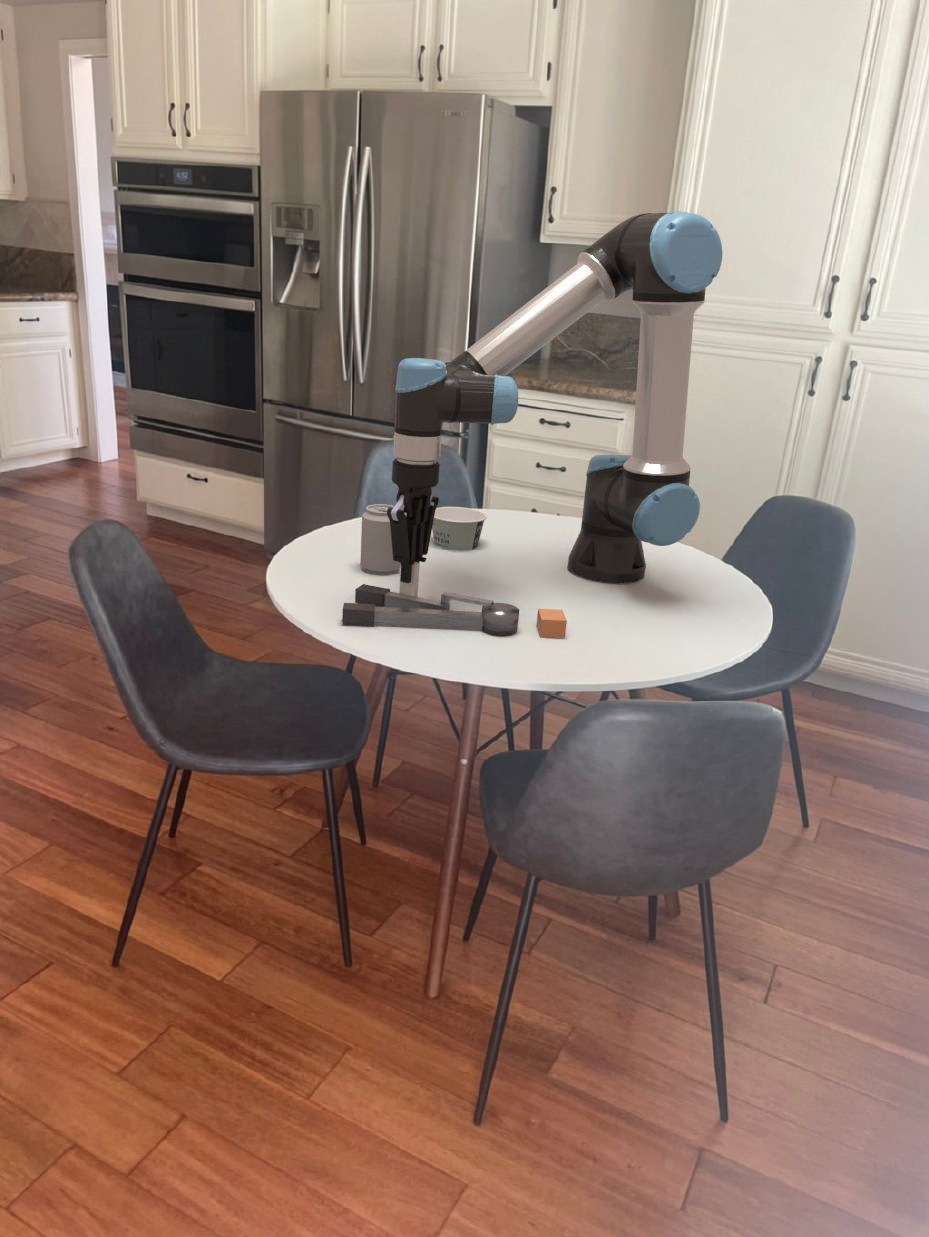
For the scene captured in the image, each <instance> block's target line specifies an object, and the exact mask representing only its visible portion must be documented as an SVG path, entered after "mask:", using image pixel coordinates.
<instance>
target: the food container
mask: <svg viewBox="0 0 929 1237" xmlns="http://www.w3.org/2000/svg"><path fill="white" fill-rule="evenodd" d="M487 518H488V516H487V514H486V513H485V512H483V511H480V510H479V509H475V508H469V507H461V506H441V507H437V508H436V510H435V515H434V521H433V526H432V538H433V544H434V545H435V546H436V547H438V548H441V549H444V550H449V551H471V550H476V549H477V548H478V546H479V543H480V540H481V539H480V538H481V534H482V532H483V526H484V523H485V521H486V519H487Z"/></svg>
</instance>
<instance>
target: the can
mask: <svg viewBox="0 0 929 1237" xmlns="http://www.w3.org/2000/svg"><path fill="white" fill-rule="evenodd" d="M389 507H390V508H394V507H395V505H391V504H384V503H382V504H381V503H379V504H376V503H375V504H369V505H366V507H365V512H363V513H362V516H361V532H360V533H361V534H360V535H361V537H360V538H361V540H360V541H361V542H360V563H359V564H360V566H361V568H363V570H364V571H365V572H367V573H370V574H374V575H382V576H383V575H391V574H394V573H395V572H396V571H398V570H399V569H401V563H400V562H397V561H394V560H393V551H392V540H391V528H390V520H389V518H388V515H387V510H388V508H389Z"/></svg>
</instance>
